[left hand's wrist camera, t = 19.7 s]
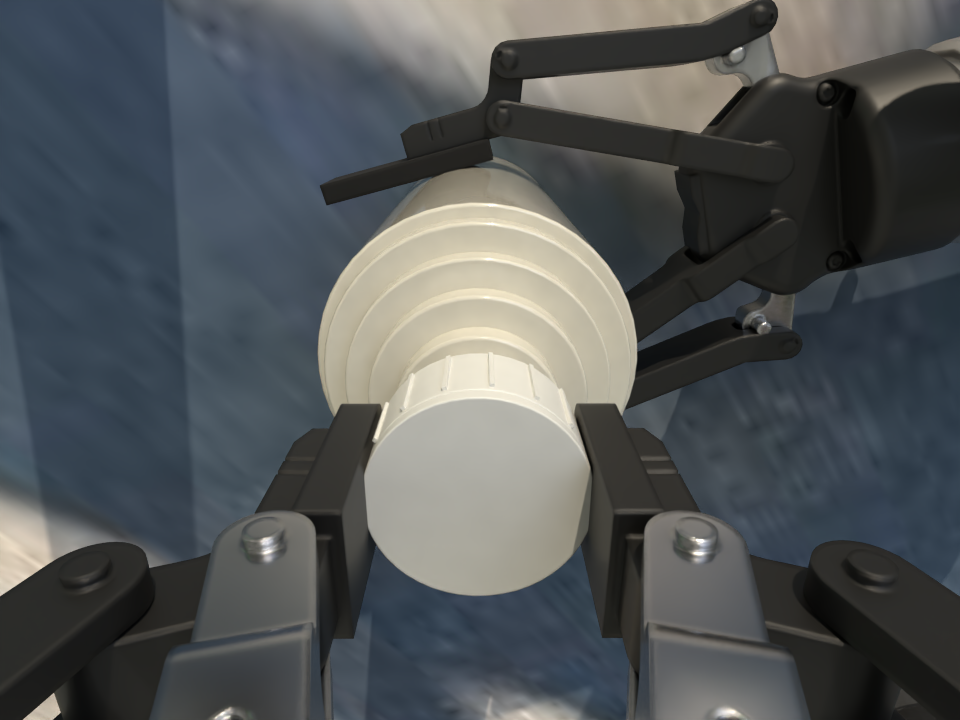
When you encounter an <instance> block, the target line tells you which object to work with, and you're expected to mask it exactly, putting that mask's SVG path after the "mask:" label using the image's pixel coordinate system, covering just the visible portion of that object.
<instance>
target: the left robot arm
mask: <svg viewBox="0 0 960 720" xmlns="http://www.w3.org/2000/svg"><path fill="white" fill-rule="evenodd" d="M381 413H382V407H381V405H380V404H341V405H340V407H339V409H338V411H337V413H336V415H335V417H334V419H333V422H332V424H331V426H330V428H329V429H312V430H310V431H309V432H307V433H306V434H305V435H303V436H302V437H301V438H299V439H298V440H297V441H295V442H294V443H293V445H292V447H291V449H290V451H289V452H288V454H287V456H286V458H285V461H283V463H282V465H281V467H280V469H279V470H278V475H276V476H275V478H274V479H273V481H272V483H271V485H270V487H269V488H268V490H267V492H266V494H265V496H264V497H263V499H262V501H261V503H260V505H259V506H258V508H257V510H256V512H255V514H252V515H250V516H247V517H244V518H242V519H240V520H238V521H236V522H234V523H233V524H231V525H229V526H228V527H227V528H226V529H224V530H223V531H222V532H221V533H220V534H219V535H218V537H217V538H216V540H215V541H214V544H213V547H212V551H211V553H209V554H207V555H204V556H201V557H198V558H194V559H190V560H186V561H181V562H176V563H172V564H167V565H162V566H157V567H153V568H149V565H148V561H147V557H146V554H145V552H144V551H143V550H142V549H141V548H139V547H138V546H136V545H133V544H130V543H125V542H107V543H100V544H95V545H91V546H87V547H84V548H81V549H78V550H75V551H73V552H70V553H68V554H66V555H64V556H62V557H60V558H58V559H56V560H54V561H53V562H51V563H50V564H48V565H46V566H45V567H43V568H42V569H41V570H39V571H38V572H36V573H35V574H33V575H32V576H30V577H29V578H27V579H26V580H24V581H23V582H21V583H20V584H18V585H17V586H15V587H14V588H12V589H11V590H9V591H8V592H6V593H5V594H3V595H2V596H0V720H23V719H24V718H25V717H26V716H27V715H29V714H30V713H31V712H32V711H33V710H34V709H35V708H37V707H38V706H39V705H40V704H41V703H42V702H44V701H45V700H46V699H47V698H48V697H49V696H50V695H52V694H53V693H54V694H55V697H56V700H57V703H58V705H59V708H60V711H61V713H60V714H59V715H58V716H57V717H56V718H54V719H53V720H334V714H333V681H332V669H331V660H330V648H331V644H332V641H333V639H354V635H355V630H356V626H357V622H358V618H359V614H360V609H361V605H362V601H363V597H364V592H365V588H366V584H367V580H368V576H369V571H370V567H371V563H372V559H373V555H374V550H375V546H376V543H375V541H374V540H373V538H372V537H371V534H370V532H369V530H368V520H367V508H366V495H365V481H364V473H365V469H366V466H367V463H368V460H369V457H370V454H371V451H372V448H373V444H374V442H372V440H373V437H374V434H375V431H376V428H377V425H378V422H379V419H380V416H381ZM574 416H575V419H576V422H577V425H578V429H579V432H580V435H581V438H582V441H583V445H584V448H585V451H586V454H587V457H588V461H589V464H590V467H591V471H592V486H591V500H590V513H589V526H588V532H587V534H586V536H585V538H584V539H583V541H582V543H581V548H582V552H583V556H584V561H585V565H586V569H587V574H588V578H589V582H590V587H591V591H592V595H593V600H594V604H595V608H596V613H597V617H598V622H599V626H600V630H601V635H602V638H623V642H624V645H625V649H626V653H627V656H628V659H629V668H628V680H627V713H626V720H907V719H906V718H904V717H903V716H902V715H901V714H900V713H899V712H898V711H897V710H896V709H894V708H895V705H896V702H897V699H898V696H899V693H900V690H901V689H903V690H904V691H905V692H906V693H907V694H908V695H909V696H911V697H912V698H913V699H914V700H915V701H916V702H918V703H919V704H920V705H921V706H922V707H923V708H925V709H926V710H927V711H928V712H929V713H930V714H931V715H933V716H934V717H935V718H936V719H937V720H960V596H958V595H957V594H955V593H954V592H952V591H951V590H949V589H948V588H946V587H945V586H943V585H942V584H940V583H939V582H937V581H936V580H934V579H933V578H931V577H930V576H928V575H927V574H925V573H924V572H922V571H921V570H919V569H918V568H916V567H915V566H913V565H912V564H911V563H909V562H907V561H906V560H904V559H903V558H901V557H899V556H897V555H895V554H893V553H891V552H889V551H887V550H884V549H882V548H879V547H876V546H873V545H870V544H865V543H861V542H855V541H844V540H839V541H830V542H825V543H823V544H820V545H819V546H817V547H816V548H815V549H814V550H813V552H812V555H811V558H810V562H809V566H808V568H806V567H801V566H796V565H791V564H787V563H782V562H777V561H772V560H768V559H764V558H760V557H756V556H753V555H750V554H749V551H748V547H747V544H746V541H745V540H744V538H743V537H742V535H741V534H740V533H739V532H738V531H737V530H736V529H734V528H733V527H732V526H730V525H729V524H727V523H726V522H724V521H722V520H720V519H718V518H716V517H713V516H710V515H708V514H704V513H701V512H700V510H699V508H698V506H697V505H696V503H695V501H694V499H693V497H692V495H691V494H690V492H689V490H688V488H687V486H686V484H685V483H684V481H683V479H682V477H681V475H680V474H678V470H677V468H676V466H675V464H674V462H673V461H671V457H670V455H669V453H668V451H667V450H666V448H665V446H664V444H663V442H662V441H660V440H659V439H658V438H656V437H655V436H654V435H652V434H651V433H650V432H648V431H647V430H645V429H644V428H627V427H626V425H625V423H624V420H623V418H622V416H621V414H620V412H619V409H618V407H617V405H616V404H615V403H577V404H576V406H575V411H574Z"/></svg>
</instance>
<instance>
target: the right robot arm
mask: <svg viewBox="0 0 960 720" xmlns="http://www.w3.org/2000/svg"><path fill="white" fill-rule="evenodd" d="M777 18H778V9H777V7H776V5H775V2H773V1H772V0H752V1H749V2H747V3H744V4H741V5H739V6H736V7H734V8H731V9H729V10H727V11H725V12H723V13H721V14H719V15H717V16H715V17H713V18H710V19H708V20H706V21H704V22H702V23H695V24H684V25H673V26H662V27H651V28H640V29H629V30H618V31H607V32H596V33H585V34H574V35H564V36H553V37H542V38H531V39H520V40H509V41H505V42H501V43H500V44H499V45H498V46H496V47H495V49H494V51H493V53H492V57H491V65H490V76H489V87H488V93H487V95H486V97H485V99H484V100H483V101H482V103H480V104H479V105H478V106H476V107H473V108H471V109H467V110H463V111H460V112H456V113H453V114H449V115H446V116H442V117H439V118H435V119H432V120H428V121H424V122H421V123H417V124H414V125H411V126H410V127H409V128H408V129H406V130H405V131H404V132H403V133H401V134H400V135H401V138H402V141H403V145H404V148H405V152H406V155H407V158H406V159H402V160H398V161H395V162H391V163H387V164H384V165H380V166H377V167H373V168H369V169H366V170H362V171H359V172H355V173H351V174H348V175H344V176H341V177H337V178H334V179H332V180H330V181H328V182H326V183H324V184H322V185H320V188H321V191H322V193H323V196H324V199H325V202H326V205H330V204H334V203H337V202H341V201H345V200H348V199H352V198H356V197H359V196H363V195H367V194H370V193H374V192H378V191H381V190H385V189H389V188H392V187H396V186H400V185H403V184H407V183H411V182H414V181H418V180H422V179H425V178H429V177H433V176H436V175H440V174H444V173H447V172H451V171H455V170H458V169H462V168H466V167H469V166H473V165H477V164H480V163H484V162H488V161H491V160H493V154H492V150H491V146H490V142H489V139H492V138H495V137H499V136H505V137H511V138H517V139H523V140H529V141H535V142H541V143H547V144H552V145H558V146H564V147H570V148H576V149H582V150H588V151H594V152H599V153H605V154H611V155H617V156H623V157H629V158H635V159H641V160H647V161H652V162H658V163H664V164H669V165H674V166H679V170H676V171H675V178H676V185H677V190H678V193H679V195H680V197H681V200H682V202H683V204H684V207H685V211H684V219H683V227H682V228H683V235H684V242H685V246H684V247H683V248H681V249H680V250H678V251H677V252H676V253H674V254H673V255H672V256H670V257H669V258H668V260H667V261H666V263H665V265H664V266H663V267H661V268H660V269H659V270H657V271H656V272H654V273H653V274H652V275H650V276H649V277H647V278H646V279H645V280H643V281H642V282H640V283H639V284H638V285H636V286H635V287H633V288H632V289H631V290H629V291H628V292H627V293H625V295H626V298H627V300H628V302H629V306H630V309H631V312H632V315H633V319H634V324H635V330H636V336H637V343H638V342H640V341H641V340H643V339H644V338H646V337H647V336H648V335H650V334H651V333H653V332H654V331H656V330H657V329H659V328H660V327H661V326H663V325H664V324H666V323H667V322H669V321H670V320H672V319H673V318H675V317H676V316H677V315H679V314H680V313H682V312H683V311H685V310H686V309H688V308H689V307H691V306H692V305H693V304H695V303H698V302H704V301H707V300H709V299H711V298H713V297H714V296H716V295H717V294H719V293H720V292H722V291H723V290H725V289H726V288H727V287H729V286H730V285H732V284H733V283H735V282H736V281H738V280H741V281H743V282H746V283H748V284H751V285H753V286H756V287H758V288H761V289H762V293H761V295H760V296H759V298H758V299H757V300H755V301H754V302H752V303H749V304H746V305H744V306H740V307H739V308H738V309H737V311H736V315H735V317H727V318H723V319H719V320H715V321H713V322H710V323H707V324H704V325H702V326H700V327H697V328H695V329H692V330H690V331H687V332H685V333H682V334H680V335H677V336H675V337H673V338H670V339H668V340H665V341H663V342H660V343H658V344H655V345H653V346H651V347H648V348H646V349H643V350H641V351H638V352H637V365H636V373H635V379H634V383H633V387H632V391H631V394H630V398H629V400H628V402H627V405H626V407H625V409H628V408H631V407H633V406H636V405H638V404H641V403H643V402H646V401H648V400H651V399H653V398H656V397H658V396H661V395H664V394H666V393H669V392H671V391H674V390H676V389H679V388H681V387H684V386H686V385H689V384H692V383H694V382H697V381H699V380H702V379H704V378H707V377H709V376H712V375H714V374H717V373H719V372H722V371H725V370H727V369H730V368H732V367H735V366H737V365H740V364H742V363H745V362H756V361H770V360H784V359H789V358H792V357H794V356H796V355H797V354H798V353H799V351H800V350H801V347H802V339H801V338H800V336H799V335H798V334H797V333H795V332H794V331H792V320H793V311H794V302H795V293H797V292H800V291H801V290H803V289H805V288H806V287H807V286H808V285H810V284H811V283H812V282H814V281H815V280H817V279H818V278H820V277H822V276H824V275H826V274H829V273H833V272H838V271H844V270H850V269H855V268H860V267H864V266H868V265H872V264H876V263H881V262H885V261H889V260H893V259H897V258H901V257H906V256H910V255H914V254H918V253H922V252H926V251H931V250H935V249H938V248H941V247H943V246H945V245H947V244H949V243H950V242H952V243H958V242H960V37H957V38H953V39H949V40H946V41H943V42H940V43H937V44H933V45H932V46H931V47H929V48H928V49H926V50H921V49H915V50H909V51H904V52H901V53H897V54H893V55H890V56H886V57H882V58H879V59H875V60H871V61H868V62H864V63H860V64H857V65H853V66H849V67H846V68H842V69H838V70H835V71H831V72H827V73H824V74H820V75H816V76H813V77H808V78H799V77H795V76H792V75H789V74H784V73H779V70H778V66H777V62H776V58H775V54H774V50H773V47H772V43H771V39H770V35H769V32H770V31H771V30H772V29H773V27H774V26H775V24H776V22H777ZM704 60H705V64H706V67H707V69H708V70H709V71H710V72H711V73H712V74H714V75H719V76H720V75H728V74H733V75H735V76H737V77H739V79H740V80H741V81H742V83H743V87H742V88H741V89H740V90H739V91H738V92H737V93H736V94H735V96H734V97H733V98H732V99H731V100H730V101H729V102H728V103H727V104H726V106H725V107H724V108H723V109H722V110H721V111H720V112H719V113H718V114H717V116H716V117H715V118H714V119H713V120H712V121H711V122H710V123H709V124H708V126H707V127H706V128H705V129H704V130H703V131H702V132H701V133H700V134H698V133H692V132H686V131H680V130H674V129H668V128H662V127H657V126H651V125H645V124H639V123H633V122H628V121H622V120H616V119H610V118H604V117H599V116H593V115H587V114H581V113H576V112H570V111H564V110H558V109H552V108H547V107H541V106H535V105H529V104H524V103H520V100H521V91H522V82H523V80H524V79H535V78H546V77H557V76H569V75H580V74H591V73H602V72H614V71H625V70H636V69H647V68H658V67H670V66H677V65H684V64H689V63H694V62H699V61H704ZM625 409H624V410H625Z"/></svg>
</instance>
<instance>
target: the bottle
mask: <svg viewBox="0 0 960 720" xmlns="http://www.w3.org/2000/svg"><path fill="white" fill-rule="evenodd" d="M488 352H493V354H495V355H500V356H505V357H509V358H512V359H515V360H518V361H521V362H523V363H525V364H527V365H529V363H530V364H532V365H533V366H534V368H535V369H536V370H538V371H539V372H541V373H542V374H544V375H545V376H546V377H547V378H548V379H550V380H551V381H552V382H553V383H554V384H555V385H556V386H557V387H558V389H561V388H562V389H563V390H564V393H565V396H566V399H567V401H568V403H569V405H570V407H571V409H572V411H573V414H574V411H575V406H576V404H577V403H615V404H616V405H617V407H618V409H619V412H620V414H621V416H622V414H623V412H624V409H625V407H626V405H627V402H628V400H629V398H630V394H631V391H632V387H633V383H634V379H635V373H636V365H637V336H636V330H635V324H634V319H633V315H632V312H631V309H630V306H629V302H628V300H627V298H626V295H625V293H624V291H623V289H622V287H621V285H620V283H619V281H618V280H617V278H616V277H615V275H614V273H613V272H612V270H611V269H610V267H609V266H608V264H607V263H606V262H605V261H604V260H603V259H602V257H601V256H600V255H599V254H598V253H597V252H596V251H595V249H594V248H593V247H592V246H591V245H590V244H589V242H588V241H587V240H586V239H585V238H584V237H583V235H582V234H581V233H580V232H579V231H578V230H577V228H576V227H575V226H574V225H573V224H572V223H571V221H570V220H569V219H568V218H567V217H566V216H565V214H564V213H563V212H562V211H561V210H560V209H559V207H558V206H557V205H556V204H555V203H554V202H553V201H552V199H551V198H550V197H549V196H548V195H547V194H546V192H545V191H544V190H543V189H542V188H541V187H540V185H539V184H538V183H537V182H536V181H535V180H534V179H533V178H532V177H531V176H530V175H529V174H528V173H527V172H525V171H524V170H523V169H521V168H519V167H518V166H516V165H515V164H512V163H510V162H508V161H506V160H503V159H500V158H497V157H493V160H491V161H488V162H484V163H480V164H477V165H473V166H469V167H466V168H462V169H458V170H455V171H451V172H447V173H444V174H440V175H436V176H433V177H429V178H425V179H422V180H419V181H418V182H417V183H416V184H415V185H414V187H413V188H412V189H411V190H410V191H409V192H408V194H407V195H406V196H405V197H404V198H403V200H402V201H401V202H400V203H399V204H398V205H397V207H396V208H395V209H394V210H393V211H392V212H391V214H390V215H389V216H388V217H387V218H386V220H385V221H384V222H383V223H382V224H381V225H380V227H379V228H378V229H377V230H376V231H375V233H374V234H373V235H372V236H371V237H370V238H369V240H368V241H367V242H366V243H365V244H364V246H363V247H362V248H361V249H360V250H359V251H358V253H357V254H356V255H355V256H354V257H353V259H352V260H351V261H350V263H349V264H348V265H347V267H346V268H345V269H344V271H343V272H342V273H341V275H340V276H339V278H338V280H337V282H336V284H335V286H334V287H333V289H332V291H331V293H330V295H329V298H328V301H327V303H326V306H325V309H324V312H323V316H322V320H321V325H320V330H319V339H318V364H319V373H320V378H321V383H322V387H323V391H324V394H325V397H326V399H327V402H328V405H329V408H330V410H331V412H332V414H333V415H334V417H335V415H336V413H337V411H338V409H339V407H340V405H341V404H380V405H381V407H382V410H383V407H384V404H385V402H388V403H389V402H390V400H391V398H392V397H393V395H394V394H395V393H396V391H397V390H398V389H399V387H400V386H401V385H402V384H403V383H404V382H405V381H406V380H407V379H408V377H409V375H410V374H411V373H413V374H415V373H416V372H418V371H419V370H421V369H423V368H424V367H426V366H428V365H430V364H432V363H434V362H437V361H439V360H442V359H445V358H446V356H449V355H450V356H451V357H452V356H456V355H463V354H474V353H485V354H488Z"/></svg>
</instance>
